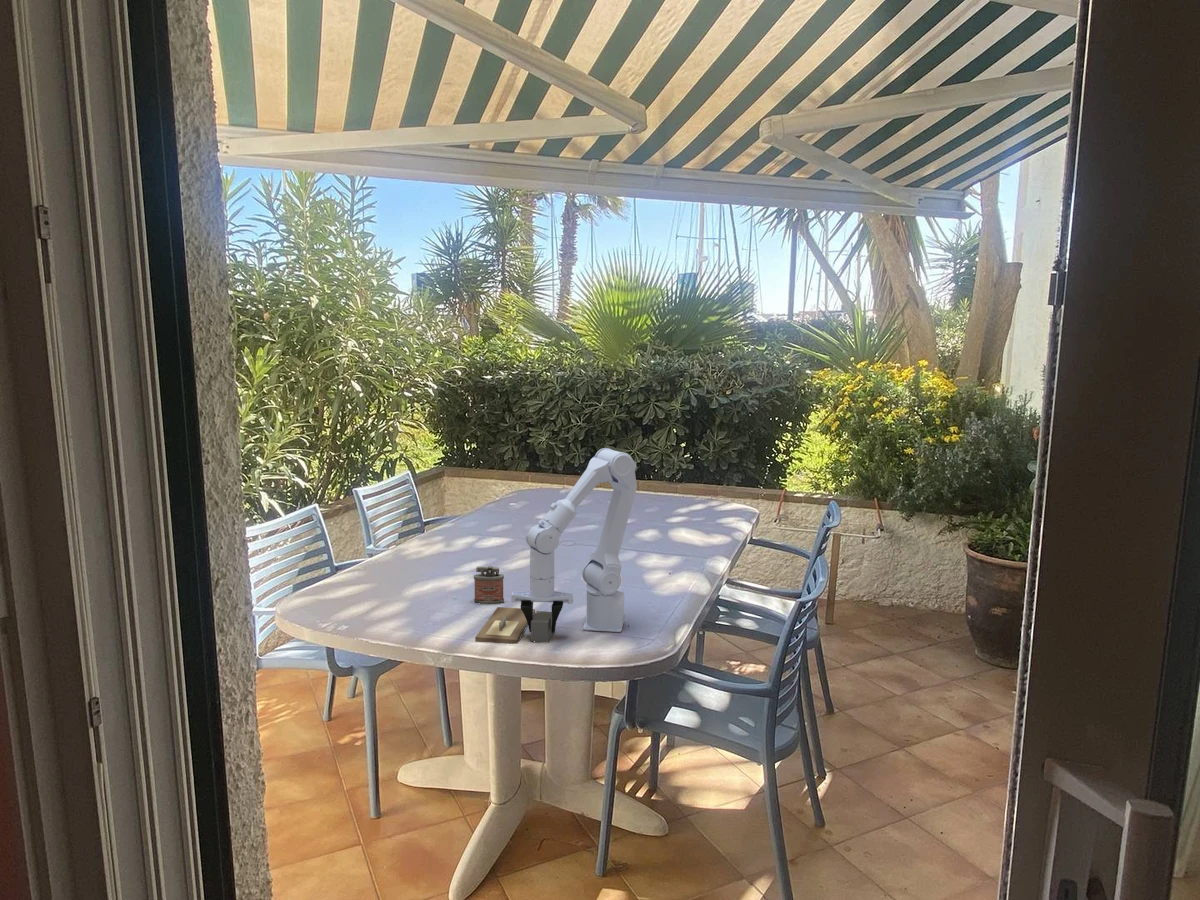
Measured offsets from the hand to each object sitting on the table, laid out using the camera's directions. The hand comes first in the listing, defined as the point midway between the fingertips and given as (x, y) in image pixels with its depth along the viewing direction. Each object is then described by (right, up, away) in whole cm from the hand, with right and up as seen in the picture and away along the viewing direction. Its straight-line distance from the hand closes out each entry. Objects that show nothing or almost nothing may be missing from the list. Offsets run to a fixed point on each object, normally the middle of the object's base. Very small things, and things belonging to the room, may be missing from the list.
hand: (542, 631), depth 173 cm
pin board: (-9, 0, +6) cm, 11 cm away
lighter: (-16, +2, +23) cm, 28 cm away
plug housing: (0, -1, 0) cm, 1 cm away
